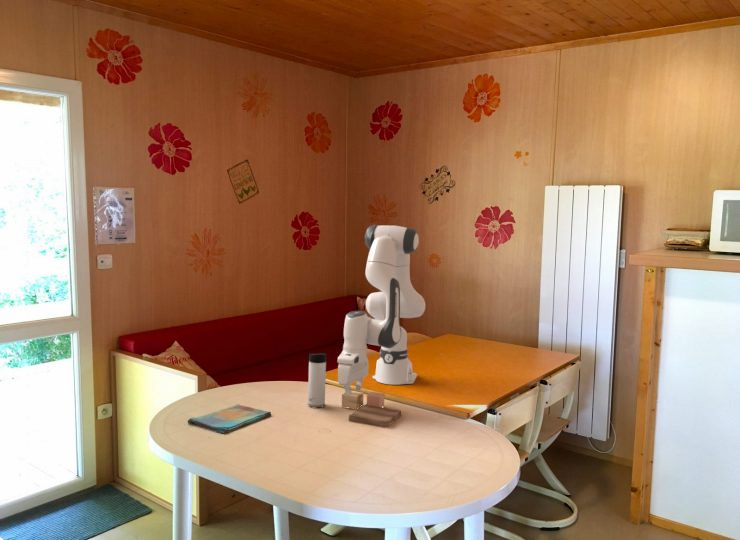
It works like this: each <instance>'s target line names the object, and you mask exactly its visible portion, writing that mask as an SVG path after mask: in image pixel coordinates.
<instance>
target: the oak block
mask: <svg viewBox="0 0 740 540" xmlns="http://www.w3.org/2000/svg"><path fill="white" fill-rule="evenodd" d="M361 405H363V406H364V392H361V391H357V390H356V391H355V390H351V395H349V396H347V395H345V392H343V393H342V394H341V407H342V406H343V407H349V408H354V409H353V410H355V409H357V408H358V407H360V406H361ZM343 407H342V408H343ZM349 408H348V409H349ZM360 408H361V407H360ZM358 409H359V408H358ZM358 409H357V410H358Z"/></svg>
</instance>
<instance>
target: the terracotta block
mask: <svg viewBox="0 0 740 540" xmlns="http://www.w3.org/2000/svg"><path fill="white" fill-rule="evenodd" d="M385 395H386V394H385V393H383V392H375V391H374V392H373V391H371V392H370V393H368V394H367V395H366V405H370V406H376V407H382V406H384V407H385Z"/></svg>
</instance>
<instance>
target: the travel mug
mask: <svg viewBox="0 0 740 540" xmlns="http://www.w3.org/2000/svg"><path fill="white" fill-rule="evenodd" d="M308 355H309V358H308V359H309V360H308V383H307V385H308V386H307V387H308V388H307V406H308V405H309V406H311V407H310V408H312V407H321V408H323V407H322V406H324V405H325V406H326V404H325V403H326V375H327V374H326V372H327V371H326V370H327V354H326V353H320V352H319V353H309V354H308ZM309 406H308V407H309ZM325 406H324V407H325Z"/></svg>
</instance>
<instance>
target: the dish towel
mask: <svg viewBox="0 0 740 540" xmlns="http://www.w3.org/2000/svg"><path fill="white" fill-rule="evenodd" d="M271 416H272V413H271V411H267V410H262V409H259V408H254V407H250V406H246V405H241V404H239V403H238V404H235V405H233V406H228V407H226V408H223V409H219V410H215V411H212V412H209V413H206V414H204V415H200V416H197V417H190V418H189V419H188V420H187V424H188V425H192V426H195V427H198V428H202V429H203V430H204V429H205V430H208V431H210V432H214V433H218V434H221V435H222V434H223V435H224V434H228V433H231V432H234V431H236V430H237V429H241V428H243V427H245V426H247V425H250V424H253V423H256V422H258V421H261V420H263V419H266V418H268V417H271Z"/></svg>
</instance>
